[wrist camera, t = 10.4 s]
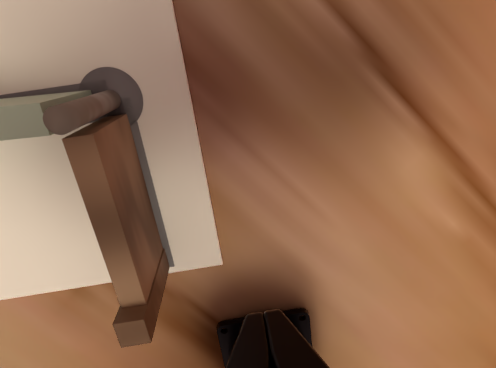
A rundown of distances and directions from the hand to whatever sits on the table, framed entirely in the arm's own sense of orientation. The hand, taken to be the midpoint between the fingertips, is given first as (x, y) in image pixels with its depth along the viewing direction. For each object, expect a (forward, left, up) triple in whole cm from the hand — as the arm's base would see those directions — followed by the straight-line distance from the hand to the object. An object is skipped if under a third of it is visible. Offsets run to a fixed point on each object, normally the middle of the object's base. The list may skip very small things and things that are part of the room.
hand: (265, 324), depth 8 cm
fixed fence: (0, +6, -12) cm, 13 cm away
